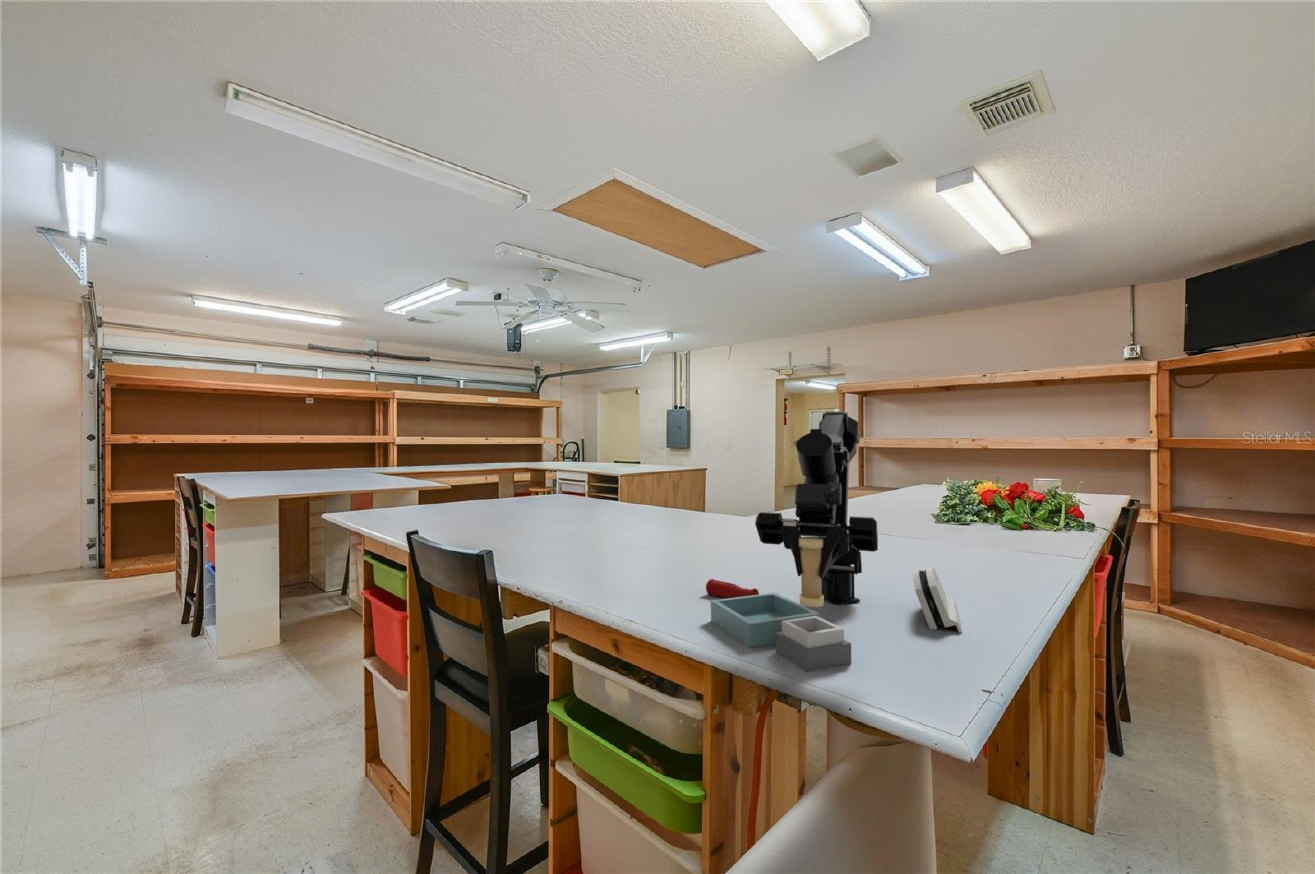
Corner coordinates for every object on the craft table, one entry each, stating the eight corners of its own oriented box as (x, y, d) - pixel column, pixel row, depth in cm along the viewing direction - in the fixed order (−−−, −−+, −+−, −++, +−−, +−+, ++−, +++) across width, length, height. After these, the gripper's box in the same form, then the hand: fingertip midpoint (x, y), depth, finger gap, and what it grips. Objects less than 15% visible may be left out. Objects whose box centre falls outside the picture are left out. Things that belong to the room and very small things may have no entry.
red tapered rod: (810, 621, 97) (809, 602, 97) (704, 596, 114) (704, 580, 114) (818, 616, 100) (818, 598, 100) (713, 592, 117) (713, 577, 117)
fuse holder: (817, 644, 86) (816, 614, 86) (851, 663, 78) (850, 629, 78) (775, 651, 83) (775, 620, 83) (807, 671, 75) (806, 637, 75)
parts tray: (774, 612, 103) (774, 592, 103) (820, 635, 89) (820, 613, 90) (711, 620, 98) (710, 600, 98) (749, 647, 85) (749, 624, 85)
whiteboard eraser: (962, 633, 90) (939, 577, 92) (933, 639, 92) (911, 583, 94) (957, 607, 105) (937, 558, 107) (932, 612, 107) (913, 564, 109)
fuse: (813, 599, 83) (813, 536, 83) (828, 605, 80) (828, 539, 80) (794, 601, 82) (794, 537, 82) (809, 608, 78) (808, 541, 78)
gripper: (757, 464, 89) (739, 540, 78) (875, 465, 81) (873, 550, 70) (768, 506, 96) (753, 580, 85) (878, 510, 88) (876, 593, 77)
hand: (809, 575), depth 79 cm, fingers closed on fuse, 3 cm apart
